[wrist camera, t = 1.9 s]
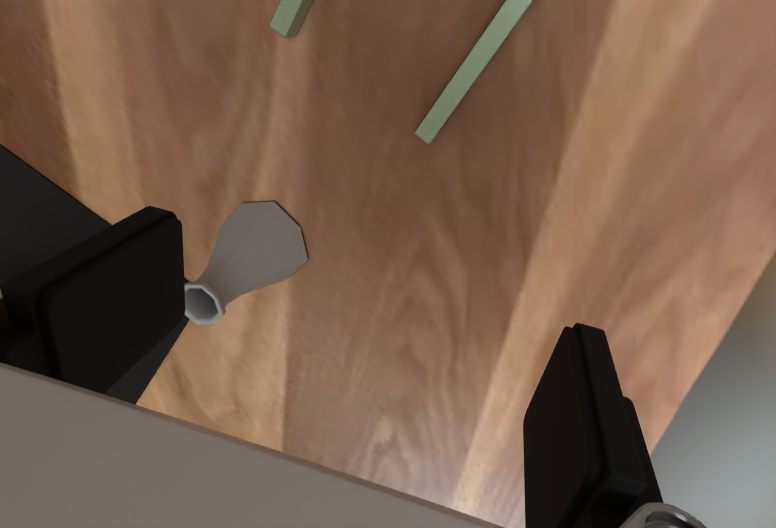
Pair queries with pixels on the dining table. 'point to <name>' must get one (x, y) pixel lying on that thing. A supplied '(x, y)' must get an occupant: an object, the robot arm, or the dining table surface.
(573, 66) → the dining table surface
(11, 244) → the black-topped pedestal
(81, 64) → the dining table surface
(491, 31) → the frame
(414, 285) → the dining table surface
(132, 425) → the robot arm
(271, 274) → the flask
